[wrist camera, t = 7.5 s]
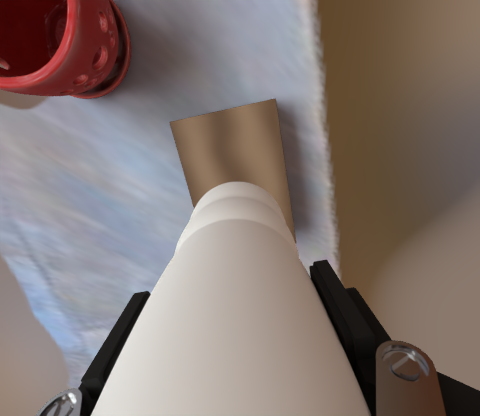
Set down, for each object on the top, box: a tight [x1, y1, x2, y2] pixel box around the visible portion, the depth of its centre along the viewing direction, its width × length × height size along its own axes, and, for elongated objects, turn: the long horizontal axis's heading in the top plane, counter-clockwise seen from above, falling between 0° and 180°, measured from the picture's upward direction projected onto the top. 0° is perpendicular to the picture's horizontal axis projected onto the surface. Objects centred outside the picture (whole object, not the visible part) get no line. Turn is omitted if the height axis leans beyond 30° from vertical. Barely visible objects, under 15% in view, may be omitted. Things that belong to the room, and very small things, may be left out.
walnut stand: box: [170, 99, 296, 244], centre depth 32 cm, size 12×18×4 cm, turn 12°
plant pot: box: [0, 0, 131, 99], centre depth 22 cm, size 13×13×12 cm
